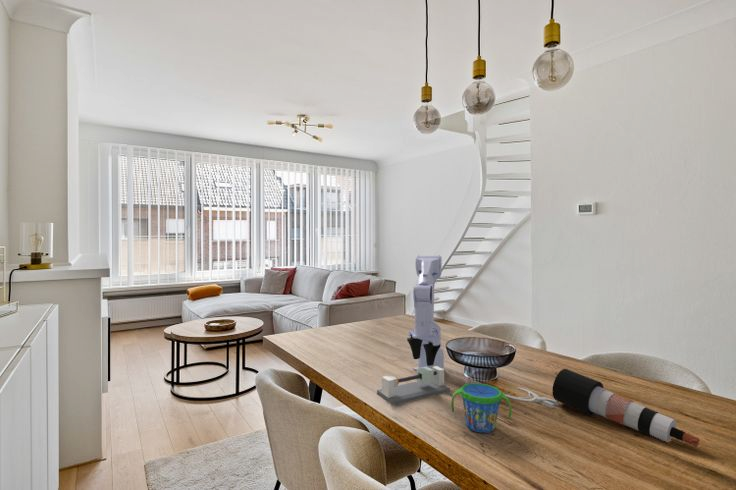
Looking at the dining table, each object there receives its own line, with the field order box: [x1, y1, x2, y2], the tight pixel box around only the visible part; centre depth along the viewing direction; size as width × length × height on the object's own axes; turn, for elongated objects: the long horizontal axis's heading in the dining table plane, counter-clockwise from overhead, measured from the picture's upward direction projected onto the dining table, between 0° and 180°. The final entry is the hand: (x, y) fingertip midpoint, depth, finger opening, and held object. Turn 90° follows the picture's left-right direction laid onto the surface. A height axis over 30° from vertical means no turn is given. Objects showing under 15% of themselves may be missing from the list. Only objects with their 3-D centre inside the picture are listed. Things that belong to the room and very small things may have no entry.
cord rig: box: [376, 366, 451, 406], centre depth 130 cm, size 22×10×6 cm, turn 119°
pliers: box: [504, 386, 559, 409], centre depth 125 cm, size 10×2×15 cm
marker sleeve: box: [415, 367, 434, 384], centre depth 132 cm, size 4×4×4 cm
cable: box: [551, 368, 700, 448], centre depth 108 cm, size 10×34×10 cm, turn 35°
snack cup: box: [450, 382, 513, 434], centre depth 107 cm, size 16×10×10 cm
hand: (423, 361), depth 132 cm, fingers open, 7 cm apart
